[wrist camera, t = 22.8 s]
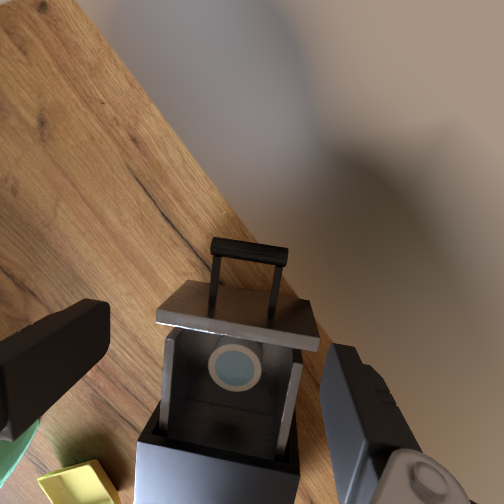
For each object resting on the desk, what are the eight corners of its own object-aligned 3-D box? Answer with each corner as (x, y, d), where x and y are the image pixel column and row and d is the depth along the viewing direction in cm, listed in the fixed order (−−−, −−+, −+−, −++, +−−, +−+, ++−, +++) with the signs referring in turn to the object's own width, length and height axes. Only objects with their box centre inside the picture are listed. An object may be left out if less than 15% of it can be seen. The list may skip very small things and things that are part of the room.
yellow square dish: (100, 448, 34) (89, 464, 32) (130, 498, 36) (121, 516, 34) (49, 462, 36) (35, 479, 34) (80, 509, 37) (68, 528, 35)
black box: (177, 370, 30) (136, 440, 22) (294, 393, 29) (300, 476, 21) (168, 470, 34) (130, 565, 25) (273, 494, 33) (270, 601, 24)
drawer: (192, 223, 25) (160, 235, 19) (321, 243, 25) (337, 263, 18) (177, 394, 30) (147, 453, 23) (285, 415, 29) (287, 484, 22)
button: (227, 323, 26) (223, 334, 24) (272, 349, 26) (272, 362, 24) (204, 362, 27) (198, 375, 25) (247, 386, 27) (245, 401, 25)
